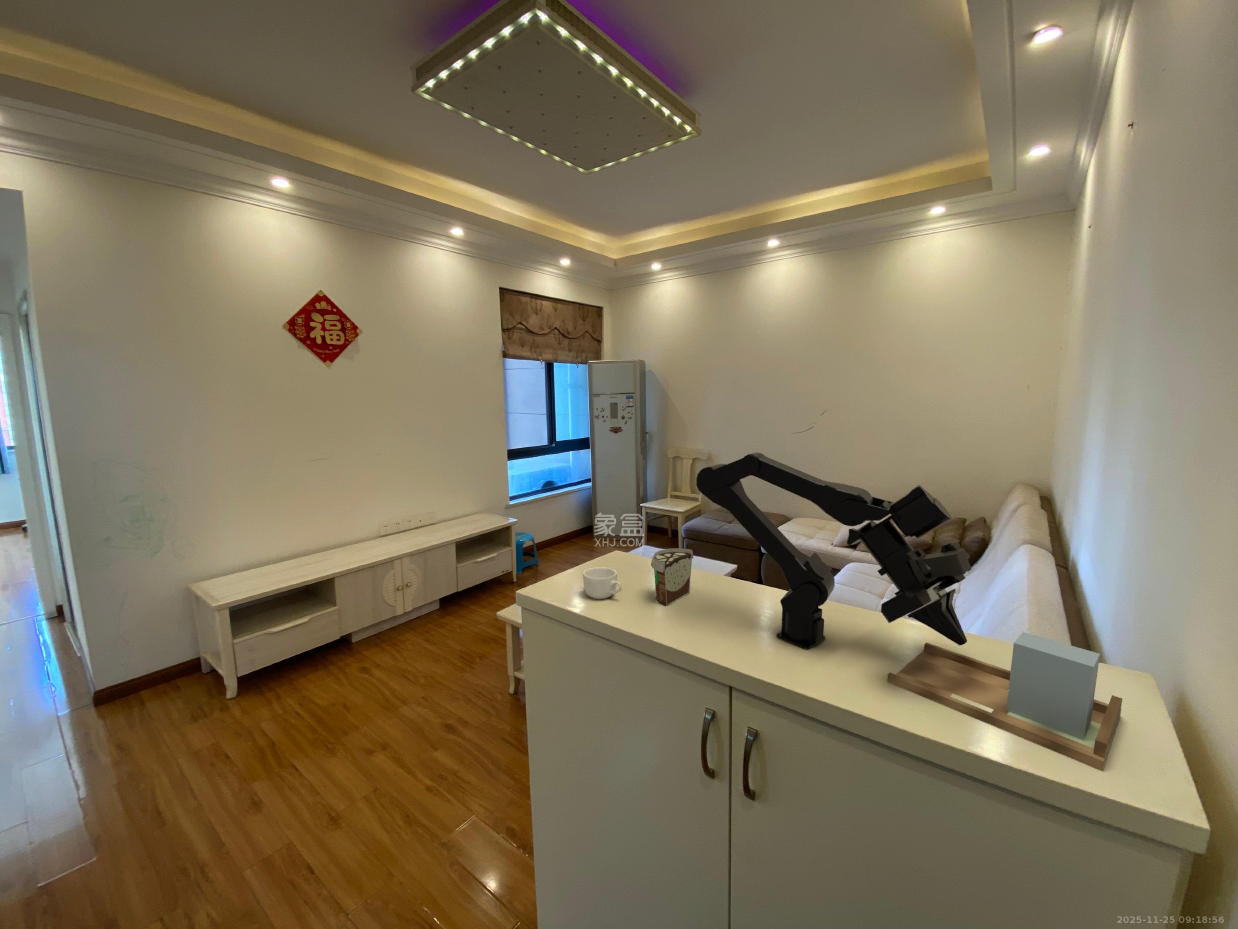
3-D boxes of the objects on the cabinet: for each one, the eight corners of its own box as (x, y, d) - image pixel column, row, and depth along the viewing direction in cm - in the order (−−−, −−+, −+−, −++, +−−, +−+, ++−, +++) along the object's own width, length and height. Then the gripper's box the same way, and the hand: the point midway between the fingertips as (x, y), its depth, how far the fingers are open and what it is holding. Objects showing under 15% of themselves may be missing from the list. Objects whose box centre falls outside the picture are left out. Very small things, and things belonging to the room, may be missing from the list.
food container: (670, 585, 119) (671, 544, 117) (692, 591, 115) (693, 549, 113) (639, 601, 109) (639, 557, 108) (662, 608, 105) (663, 563, 104)
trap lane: (886, 687, 76) (888, 663, 76) (925, 654, 86) (927, 632, 86) (1101, 778, 58) (1105, 747, 58) (1119, 723, 68) (1123, 696, 67)
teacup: (575, 596, 112) (575, 573, 111) (598, 586, 118) (598, 564, 117) (609, 608, 106) (609, 583, 105) (631, 596, 112) (631, 573, 111)
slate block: (1006, 710, 69) (1013, 642, 68) (1015, 696, 72) (1023, 632, 71) (1083, 740, 63) (1093, 667, 62) (1090, 724, 66) (1100, 653, 65)
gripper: (911, 538, 70) (996, 642, 64) (957, 519, 82) (1032, 605, 75) (851, 575, 78) (922, 672, 71) (901, 552, 89) (966, 633, 82)
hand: (963, 643), depth 75 cm, fingers closed
